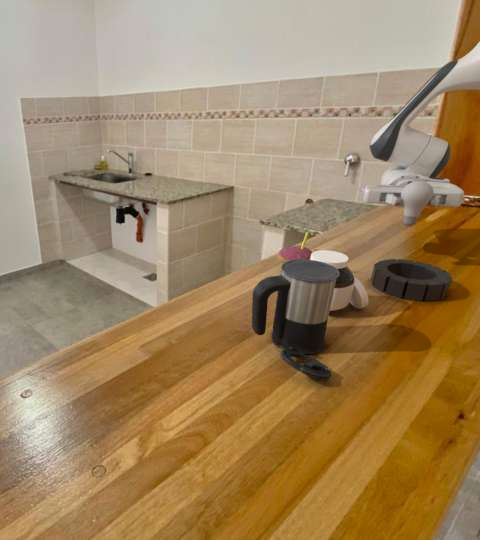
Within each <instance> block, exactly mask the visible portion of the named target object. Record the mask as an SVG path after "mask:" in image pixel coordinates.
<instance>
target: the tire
mask: <svg viewBox="0 0 480 540" xmlns="http://www.w3.org/2000/svg"><path fill="white" fill-rule="evenodd" d="M452 280H453V277H452V276H451V274H450V273H449V272H448V271H447V270H445V269H443V268H441V267H439V266H436V265H433V264H431V263H427V262H422V261H419V260H418V261H417V260H416V261H414V260H413V259H402V258H397V259H396V258H390V259H383V260H379V261H377V262H376V263H374V264H373V267H372V273H371V277H370V282H371V285H372V286H373V288H375V289H377V290H378V291H380V293H385V294H386V295H388V296H392V297H395V298H398V299H402V298H403V299H404V300H406V301H413V302H414V301H415V302H420V303H421V302H425V303H428V302H438V301H441V300H443V299H444V298H446V296H447V295H448V292H449V289H450V287H451V284H452Z"/></svg>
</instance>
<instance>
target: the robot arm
mask: <svg viewBox="0 0 480 540" xmlns="http://www.w3.org/2000/svg"><path fill="white" fill-rule="evenodd" d="M453 91H454V92H455V91H480V41H478V43H477V44H476V45H475V46H474V47H473V48H472V49H471V50H470V51H469V52H468V53H467V54H466V55H464V56H462V57H461V58H459V59H458V60H451V61H449V62H447V63H445V64H444V65H443V66H442V67H440V68H439V69H438V70H437V71H436V72H435V73H434V74H433V75H432V76H431V77H430V78H429V79H428V80H427V81H426V82H425V83H424V84H423V85H422V86H421V87H420V89H418V91H417V92H416V93H415V94H414V95H412V97H411V98H410V99H409V100H408V101H407V102H406V103H405V105H403V107H402V108H400V109H399V111H398V112H396V113H395V115H394V116H393V117H392V118H391V119H390V120H389V121H388V122H387V123H385V125H384V126H382V127H381V128H380V129H379V130H378V131H377V132H376V133H375V134H374V136H373V137H372V139H371V141H370V143H369V151H370V153H371V155H372V157H373V159H376V160H380V161H382V162H386V163H387V162H388V163H389V164H392V165H394V166H391V167H389V168H388V169H386V171H385V172H384V173H383V174H382V176H381V179H380V184H376V183H373V184H367V185H366V186H365V187H362V188H360V193H361V194H363V196H362V202H363V203H366V204H380V205H381V204H382V205H392V206H394V207H397V208H403V209H404V204H403V202H402V198H401V192H402V190H403V188H404V187H405V186H406V185H408V184H409V183H411V182H414V181H424V182H427V183H428V184H430V185H431V186H432V188H433V191H434V194H433V197H432V199H431V200H430V201H429V202H428V204H426V205H425V206H424V207H426V206H427V207H428V208H438V207H445V208H446V207H451V208H458V207H460V206H461V205H462V203H463V200H464V197H465V192H464V190H463V189H462V188H461V187H459V186H458V185H456V184H453V183H451V180H450V179H449V178H443V177H438V176H439V175H440V174H441V173H442V172H443V170H444V169H445V167H447V165H448V163H449V161H450V159H451V145H450V143H449V141H447V140H444V139H442V138H440V137H437V136H435V135H432V134H428V133H425V132H423V131H420V130H417V129H415V128H413V127H411V126H410V125H411V123H412V122H413V121H414V120H415V119H416V118H417V117H418V116H419V115H420V114H421V113H422V112H423V111H424V110H425V109H426V108H427V107H428V106H430V103H432V102H433V101H434V100H435V99H436V98H437V97H439V96H441V95H442V94H445V93H448V92H449V93H450V92H453Z"/></svg>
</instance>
